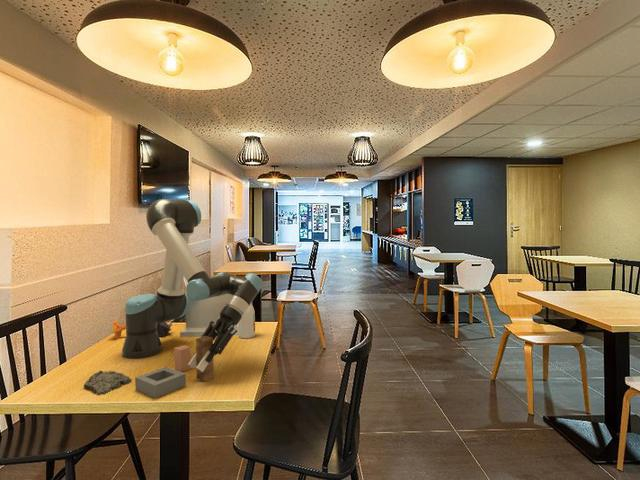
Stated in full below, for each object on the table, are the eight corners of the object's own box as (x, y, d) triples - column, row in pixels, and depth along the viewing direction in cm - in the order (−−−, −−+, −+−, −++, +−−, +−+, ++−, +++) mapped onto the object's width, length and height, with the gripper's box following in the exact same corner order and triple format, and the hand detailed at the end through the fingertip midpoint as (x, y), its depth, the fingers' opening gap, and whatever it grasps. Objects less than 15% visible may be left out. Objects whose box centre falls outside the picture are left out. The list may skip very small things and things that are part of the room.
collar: (135, 389, 125) (135, 377, 125) (166, 378, 134) (165, 366, 134) (155, 398, 118) (154, 385, 118) (185, 385, 127) (185, 373, 127)
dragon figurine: (117, 318, 186) (170, 303, 191) (124, 341, 187) (176, 326, 192) (110, 323, 176) (167, 308, 181) (118, 348, 177) (173, 332, 182)
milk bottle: (251, 339, 178) (250, 296, 177) (235, 338, 179) (235, 295, 178) (257, 334, 185) (256, 293, 184) (242, 333, 187) (241, 292, 186)
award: (242, 330, 193) (241, 275, 192) (240, 335, 184) (239, 277, 183) (185, 331, 191) (183, 276, 190) (180, 337, 182) (178, 279, 181)
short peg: (174, 369, 142) (174, 348, 141) (184, 366, 145) (183, 345, 145) (181, 371, 139) (180, 350, 139) (190, 368, 143) (190, 347, 142)
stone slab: (113, 373, 140) (112, 365, 140) (137, 384, 130) (137, 375, 130) (75, 385, 130) (75, 376, 130) (98, 398, 120) (98, 388, 120)
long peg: (196, 378, 133) (195, 338, 132) (206, 374, 136) (205, 335, 135) (204, 381, 131) (203, 340, 130) (213, 377, 134) (212, 337, 133)
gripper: (255, 320, 139) (217, 380, 127) (225, 313, 150) (188, 367, 138) (243, 308, 134) (202, 368, 122) (213, 301, 145) (174, 356, 134)
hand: (195, 368), depth 130 cm, fingers closed on long peg, 4 cm apart
